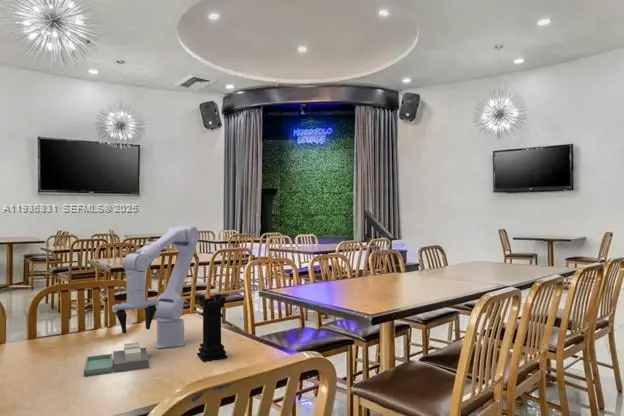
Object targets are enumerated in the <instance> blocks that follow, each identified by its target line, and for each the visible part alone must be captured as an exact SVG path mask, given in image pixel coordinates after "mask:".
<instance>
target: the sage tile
mask: <svg viewBox="0 0 624 416" xmlns="http://www.w3.org/2000/svg"><path fill="white" fill-rule="evenodd" d="M140 348H141V347H140ZM140 348H135V349H126V350H125V362H130V361H137V360H141V350H140Z"/></svg>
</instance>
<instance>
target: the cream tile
mask: <svg viewBox="0 0 624 416" xmlns="http://www.w3.org/2000/svg"><path fill="white" fill-rule="evenodd" d="M135 348H141V346H140V342H130V343H124V344H123V350H124V354H125V350H126V349H135Z"/></svg>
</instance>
